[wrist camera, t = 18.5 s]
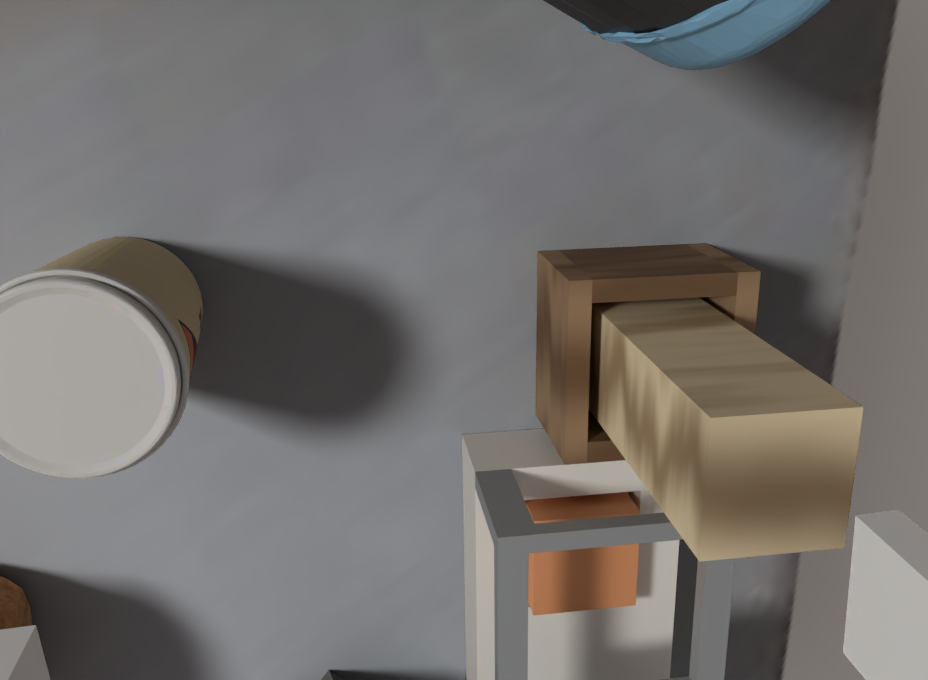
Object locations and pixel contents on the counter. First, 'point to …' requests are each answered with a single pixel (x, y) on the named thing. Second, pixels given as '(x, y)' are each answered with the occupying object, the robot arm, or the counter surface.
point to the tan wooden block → (723, 429)
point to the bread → (13, 606)
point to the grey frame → (516, 536)
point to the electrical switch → (331, 676)
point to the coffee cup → (96, 357)
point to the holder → (616, 280)
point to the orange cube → (582, 559)
